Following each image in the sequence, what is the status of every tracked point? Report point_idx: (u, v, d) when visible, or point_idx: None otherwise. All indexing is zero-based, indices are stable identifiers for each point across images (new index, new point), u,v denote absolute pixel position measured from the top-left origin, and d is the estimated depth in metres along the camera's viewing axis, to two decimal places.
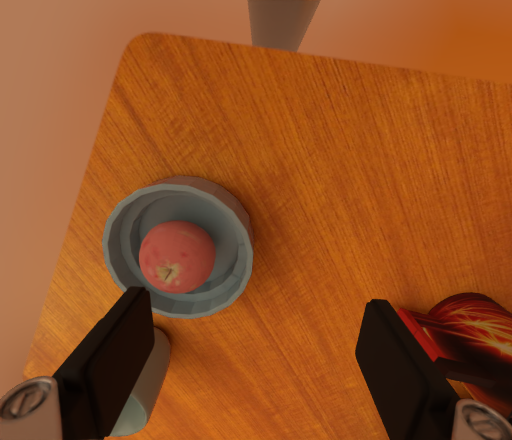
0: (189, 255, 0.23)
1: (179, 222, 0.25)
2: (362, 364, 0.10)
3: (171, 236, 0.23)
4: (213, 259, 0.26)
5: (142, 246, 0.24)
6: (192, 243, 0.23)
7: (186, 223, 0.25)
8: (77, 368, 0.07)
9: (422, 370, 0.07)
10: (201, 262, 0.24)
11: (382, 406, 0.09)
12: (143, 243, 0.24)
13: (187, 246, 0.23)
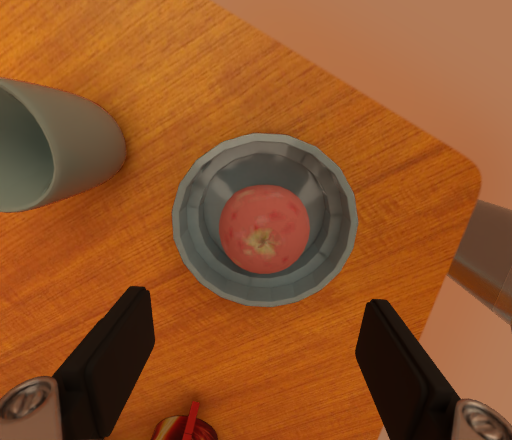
0: (283, 264, 0.19)
1: None
2: (362, 364, 0.10)
3: (304, 240, 0.19)
4: None
5: (288, 201, 0.19)
6: (293, 261, 0.20)
7: None
8: (77, 368, 0.07)
9: (422, 370, 0.07)
10: (271, 272, 0.20)
11: (382, 406, 0.09)
12: (291, 201, 0.19)
13: (292, 260, 0.19)
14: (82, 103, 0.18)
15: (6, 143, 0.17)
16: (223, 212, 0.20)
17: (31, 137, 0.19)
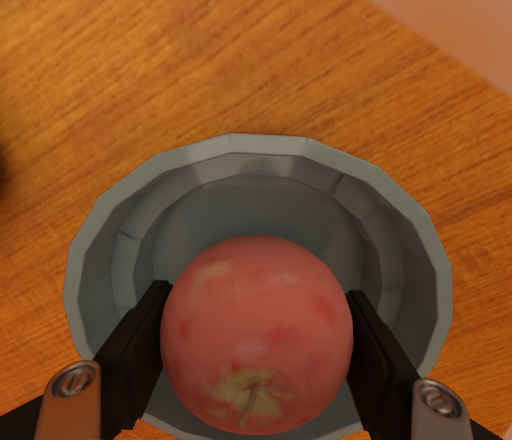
0: (299, 425, 0.09)
1: None
2: None
3: (345, 374, 0.09)
4: None
5: (312, 294, 0.08)
6: None
7: None
8: (117, 352, 0.07)
9: (386, 352, 0.08)
10: None
11: (354, 389, 0.09)
12: (318, 292, 0.08)
13: (319, 413, 0.09)
14: None
15: None
16: (166, 308, 0.09)
17: None
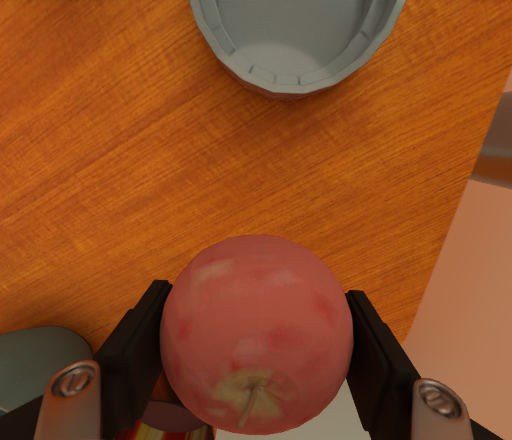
0: (299, 425, 0.09)
1: None
2: None
3: (345, 374, 0.09)
4: None
5: (312, 293, 0.08)
6: None
7: None
8: (117, 352, 0.07)
9: (386, 353, 0.08)
10: None
11: (355, 390, 0.09)
12: (318, 292, 0.08)
13: (319, 413, 0.09)
14: None
15: None
16: (166, 307, 0.09)
17: None
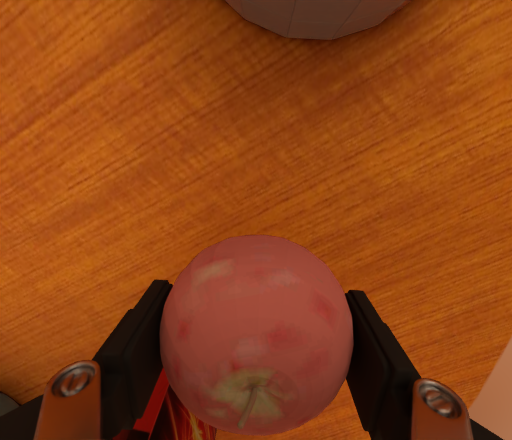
0: (299, 425, 0.09)
1: None
2: None
3: (345, 375, 0.09)
4: None
5: (312, 294, 0.08)
6: None
7: None
8: (117, 352, 0.07)
9: (386, 353, 0.08)
10: None
11: (355, 390, 0.09)
12: (318, 292, 0.08)
13: (319, 413, 0.09)
14: None
15: None
16: (166, 308, 0.09)
17: None
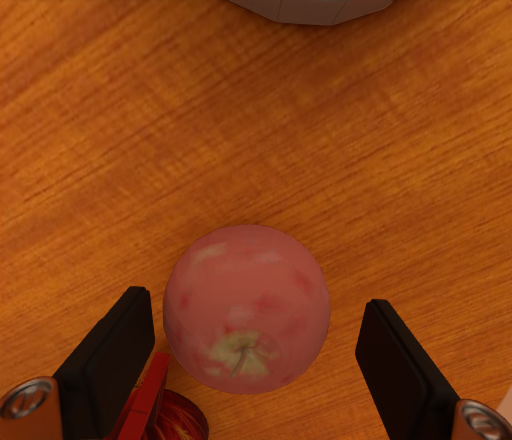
0: (283, 384, 0.10)
1: None
2: (362, 364, 0.10)
3: (322, 340, 0.10)
4: None
5: (293, 270, 0.09)
6: None
7: None
8: (77, 368, 0.07)
9: (422, 370, 0.07)
10: None
11: (382, 406, 0.09)
12: (298, 269, 0.10)
13: (301, 374, 0.10)
14: None
15: None
16: (168, 285, 0.10)
17: None
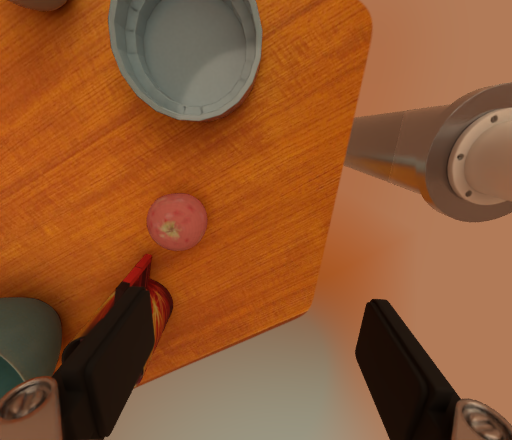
0: (186, 243, 0.31)
1: None
2: (362, 364, 0.10)
3: (199, 228, 0.31)
4: None
5: (187, 204, 0.30)
6: (195, 242, 0.32)
7: (206, 227, 0.33)
8: (77, 368, 0.07)
9: (422, 370, 0.07)
10: (180, 249, 0.32)
11: (382, 406, 0.09)
12: (189, 204, 0.30)
13: (193, 240, 0.31)
14: None
15: None
16: (148, 211, 0.31)
17: None
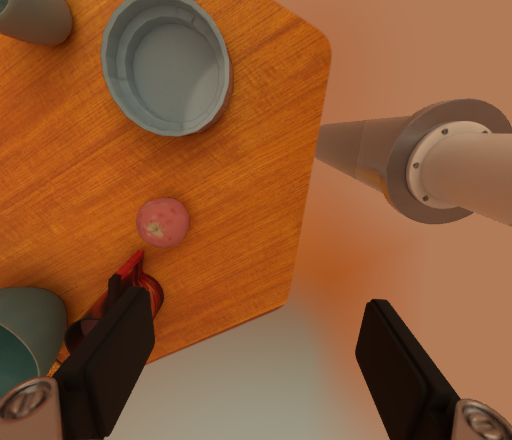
0: (169, 241, 0.36)
1: (189, 224, 0.38)
2: (362, 364, 0.10)
3: (180, 228, 0.36)
4: None
5: (170, 207, 0.35)
6: (177, 240, 0.36)
7: (188, 227, 0.38)
8: (77, 368, 0.07)
9: (422, 370, 0.07)
10: (165, 246, 0.36)
11: (382, 406, 0.09)
12: (172, 207, 0.35)
13: (175, 239, 0.36)
14: None
15: None
16: None
17: None
